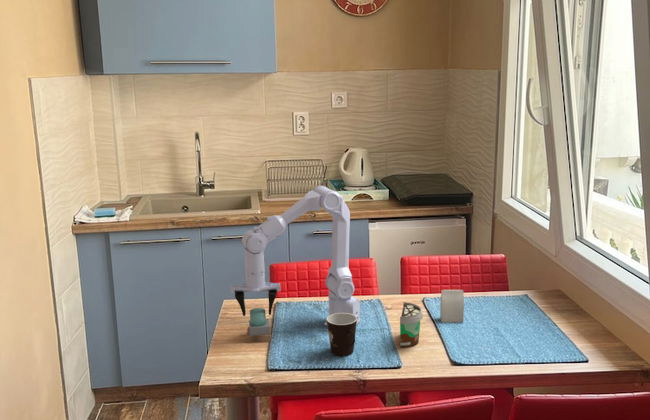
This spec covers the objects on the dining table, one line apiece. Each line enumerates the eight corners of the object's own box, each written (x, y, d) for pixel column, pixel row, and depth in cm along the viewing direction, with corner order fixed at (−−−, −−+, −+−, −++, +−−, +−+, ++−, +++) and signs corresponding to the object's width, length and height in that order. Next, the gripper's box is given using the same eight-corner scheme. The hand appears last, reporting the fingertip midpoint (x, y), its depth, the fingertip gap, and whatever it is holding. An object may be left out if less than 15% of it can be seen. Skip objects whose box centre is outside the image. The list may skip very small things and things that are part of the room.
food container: (421, 351, 184) (421, 318, 181) (399, 349, 185) (399, 317, 183) (423, 333, 195) (424, 302, 193) (403, 332, 197) (403, 301, 194)
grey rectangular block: (463, 322, 203) (464, 292, 201) (441, 322, 203) (442, 292, 201) (461, 317, 207) (462, 288, 204) (440, 317, 207) (440, 288, 205)
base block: (270, 333, 199) (270, 326, 198) (270, 343, 192) (270, 335, 192) (248, 334, 199) (247, 327, 198) (246, 344, 192) (246, 336, 191)
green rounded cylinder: (268, 321, 195) (268, 309, 194) (260, 327, 191) (260, 314, 190) (255, 319, 197) (254, 307, 196) (247, 325, 193) (246, 312, 192)
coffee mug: (327, 344, 189) (326, 312, 187) (357, 344, 189) (356, 312, 187) (326, 363, 178) (325, 329, 176) (357, 363, 178) (357, 329, 175)
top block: (269, 326, 198) (268, 318, 198) (270, 334, 192) (270, 326, 192) (249, 327, 197) (249, 320, 197) (250, 336, 192) (249, 328, 191)
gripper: (229, 276, 186) (231, 320, 189) (279, 274, 187) (281, 318, 190) (231, 268, 193) (233, 311, 196) (279, 266, 194) (281, 309, 197)
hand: (257, 314), depth 194 cm, fingers open, 7 cm apart
